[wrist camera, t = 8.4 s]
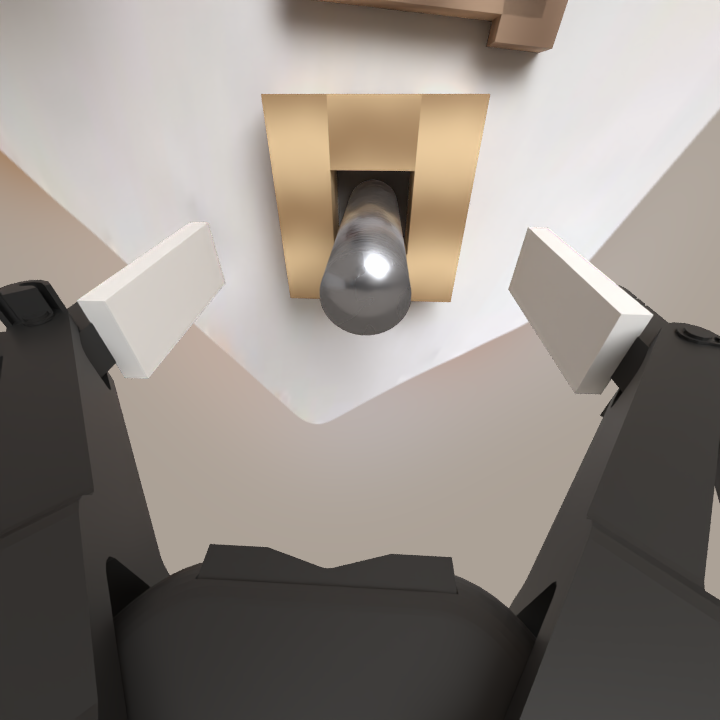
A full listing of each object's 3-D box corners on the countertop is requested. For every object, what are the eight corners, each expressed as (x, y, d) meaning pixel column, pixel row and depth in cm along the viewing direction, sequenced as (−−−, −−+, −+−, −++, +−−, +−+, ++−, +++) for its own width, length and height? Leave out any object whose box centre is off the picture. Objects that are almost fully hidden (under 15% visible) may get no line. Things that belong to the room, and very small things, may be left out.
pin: (348, 178, 23) (317, 248, 12) (400, 180, 23) (417, 254, 12) (347, 231, 25) (321, 332, 14) (394, 234, 25) (405, 337, 14)
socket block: (277, 95, 20) (261, 94, 17) (475, 95, 20) (490, 94, 17) (299, 278, 28) (290, 298, 25) (443, 281, 27) (450, 302, 24)
